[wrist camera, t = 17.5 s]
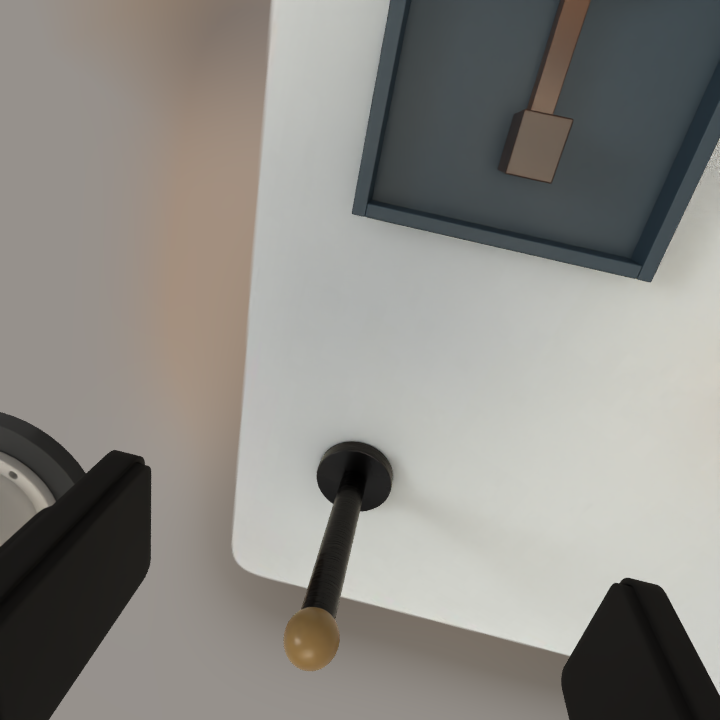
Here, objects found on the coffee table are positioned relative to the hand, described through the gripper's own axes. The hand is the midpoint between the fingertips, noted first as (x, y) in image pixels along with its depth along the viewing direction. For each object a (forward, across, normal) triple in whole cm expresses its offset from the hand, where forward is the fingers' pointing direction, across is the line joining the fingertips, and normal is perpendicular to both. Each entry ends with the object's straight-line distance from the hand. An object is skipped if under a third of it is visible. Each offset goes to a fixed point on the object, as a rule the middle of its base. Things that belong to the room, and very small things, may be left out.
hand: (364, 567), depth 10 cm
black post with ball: (+25, +1, +17) cm, 30 cm away
